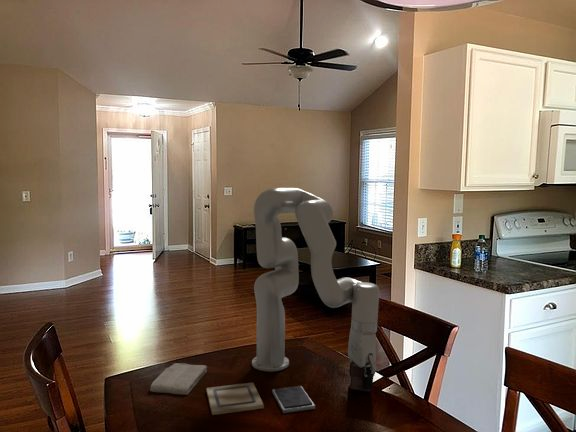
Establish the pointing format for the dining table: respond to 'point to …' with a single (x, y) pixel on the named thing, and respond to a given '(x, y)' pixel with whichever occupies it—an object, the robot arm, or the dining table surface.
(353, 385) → the box
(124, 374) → the dining table surface
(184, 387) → the washcloth
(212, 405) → the board
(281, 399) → the ink pad
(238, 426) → the dining table surface
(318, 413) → the dining table surface
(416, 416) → the dining table surface
